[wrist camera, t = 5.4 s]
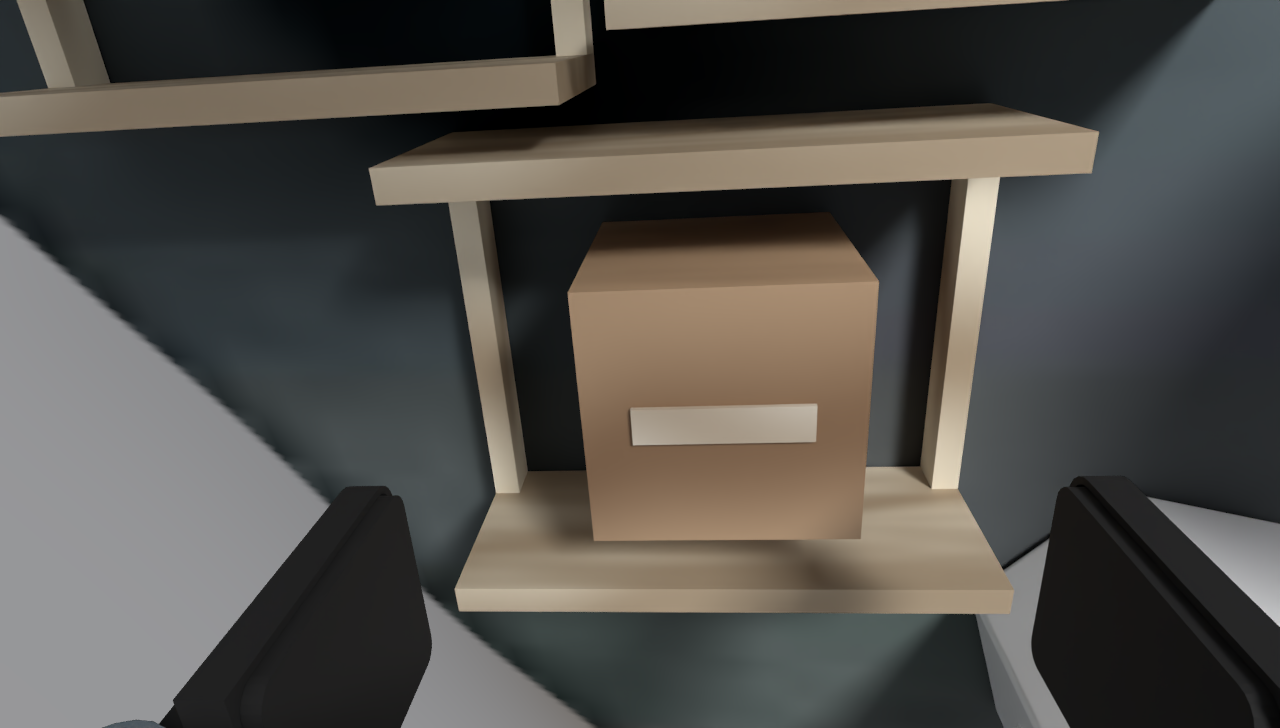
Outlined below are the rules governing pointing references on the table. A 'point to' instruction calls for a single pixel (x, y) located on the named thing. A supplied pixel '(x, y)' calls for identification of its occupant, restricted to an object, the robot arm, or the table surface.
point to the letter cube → (724, 378)
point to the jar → (1033, 724)
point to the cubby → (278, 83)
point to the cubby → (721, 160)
